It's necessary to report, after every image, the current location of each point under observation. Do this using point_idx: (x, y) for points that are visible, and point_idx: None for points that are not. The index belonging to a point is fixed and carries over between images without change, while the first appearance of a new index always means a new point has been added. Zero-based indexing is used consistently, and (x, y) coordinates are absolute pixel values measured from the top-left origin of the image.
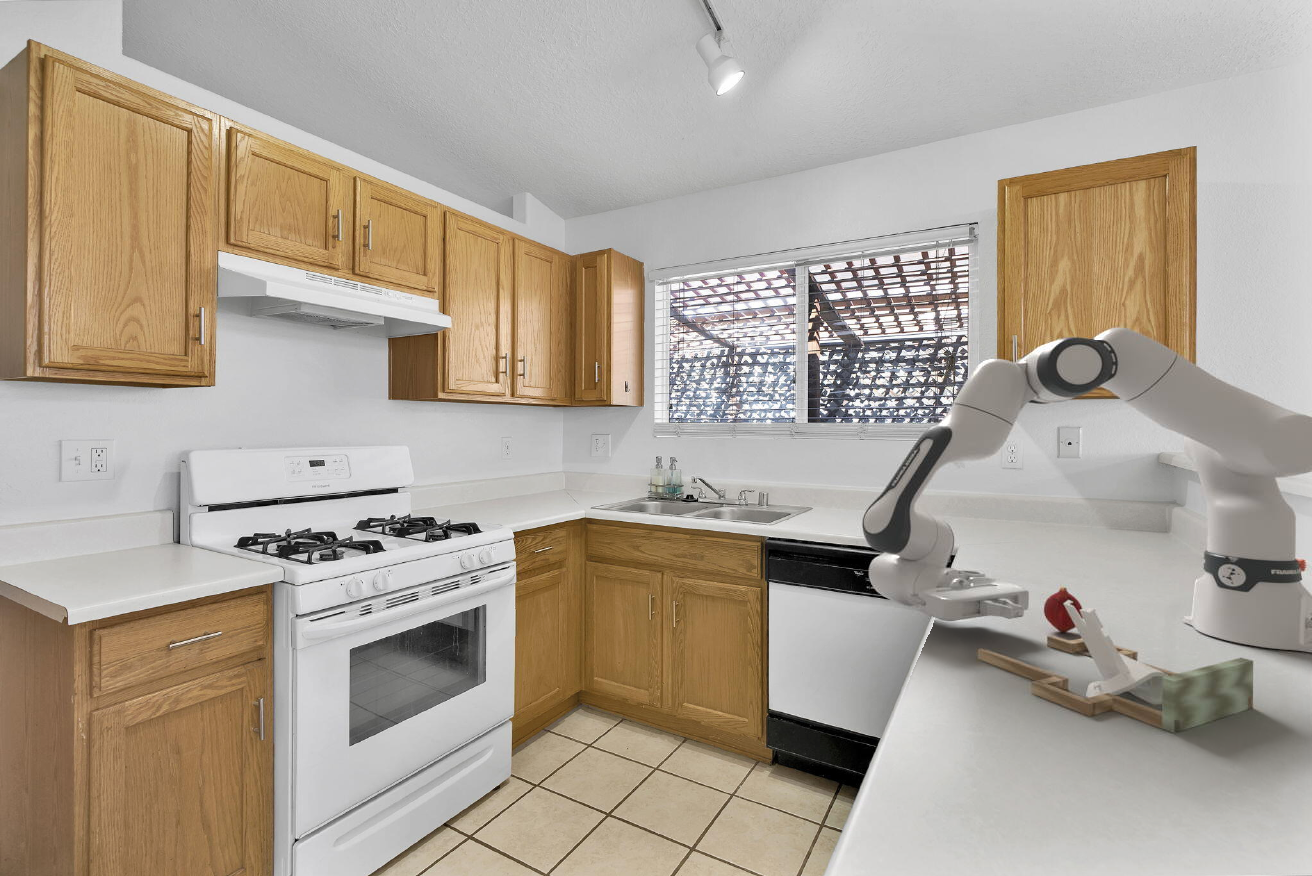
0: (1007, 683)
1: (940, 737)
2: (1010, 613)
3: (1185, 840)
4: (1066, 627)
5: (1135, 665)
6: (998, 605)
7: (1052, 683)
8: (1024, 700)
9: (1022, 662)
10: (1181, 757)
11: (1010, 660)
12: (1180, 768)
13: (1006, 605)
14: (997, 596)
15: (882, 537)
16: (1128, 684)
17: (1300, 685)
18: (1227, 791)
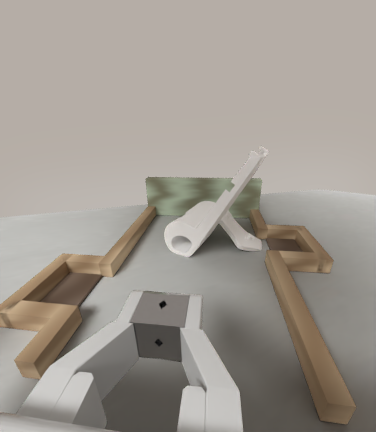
0: (348, 301)
1: None
2: (202, 309)
3: (358, 197)
4: None
5: (207, 208)
6: (208, 338)
7: (301, 252)
8: (355, 268)
9: (287, 297)
10: (286, 209)
11: (305, 312)
12: (300, 207)
13: (177, 318)
14: (48, 421)
15: None
16: (233, 218)
17: (61, 212)
18: (296, 199)
